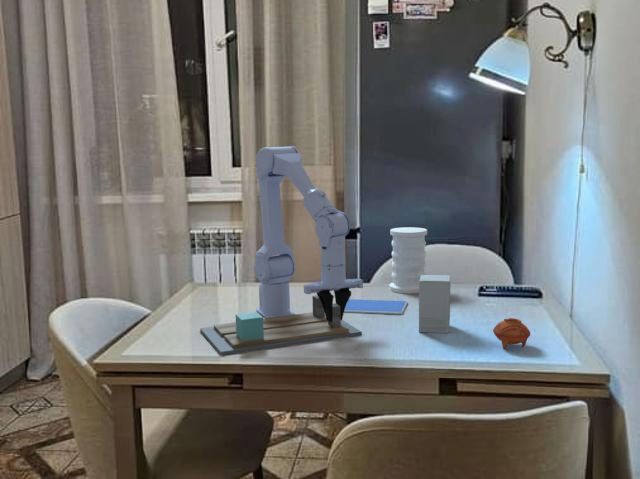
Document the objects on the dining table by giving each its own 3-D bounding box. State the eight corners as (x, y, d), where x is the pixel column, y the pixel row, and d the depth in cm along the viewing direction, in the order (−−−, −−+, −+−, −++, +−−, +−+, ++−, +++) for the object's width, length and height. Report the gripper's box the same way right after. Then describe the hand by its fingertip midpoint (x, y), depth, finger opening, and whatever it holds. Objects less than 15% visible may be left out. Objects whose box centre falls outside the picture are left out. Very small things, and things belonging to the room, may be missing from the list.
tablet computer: (329, 314, 186) (329, 309, 186) (339, 302, 198) (339, 297, 198) (402, 317, 182) (402, 312, 181) (408, 305, 194) (408, 300, 193)
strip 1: (213, 328, 170) (212, 305, 169) (320, 314, 180) (319, 292, 180) (222, 336, 163) (220, 312, 162) (332, 322, 173) (332, 299, 172)
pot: (483, 342, 156) (489, 313, 156) (511, 346, 159) (517, 317, 159) (504, 351, 149) (511, 320, 149) (534, 355, 152) (540, 325, 152)
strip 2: (224, 338, 161) (223, 314, 160) (335, 323, 172) (334, 300, 171) (233, 348, 154) (232, 322, 153) (349, 332, 165) (348, 308, 164)
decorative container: (387, 293, 205) (387, 232, 203) (390, 284, 217) (390, 226, 214) (427, 294, 203) (428, 232, 201) (428, 285, 215) (428, 227, 212)
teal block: (236, 335, 161) (235, 314, 160) (257, 332, 163) (256, 311, 162) (242, 341, 156) (241, 319, 155) (263, 338, 158) (263, 317, 157)
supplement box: (449, 333, 165) (450, 281, 162) (418, 332, 166) (418, 280, 164) (450, 325, 172) (450, 274, 170) (419, 323, 173) (420, 274, 171)
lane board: (200, 331, 170) (200, 328, 170) (328, 314, 183) (328, 311, 183) (220, 355, 152) (220, 351, 152) (361, 335, 165) (361, 331, 165)
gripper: (310, 270, 159) (312, 328, 161) (368, 264, 164) (368, 320, 166) (299, 264, 165) (301, 320, 167) (355, 259, 170) (356, 313, 173)
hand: (334, 320), depth 167 cm, fingers closed on strip 2, 2 cm apart
